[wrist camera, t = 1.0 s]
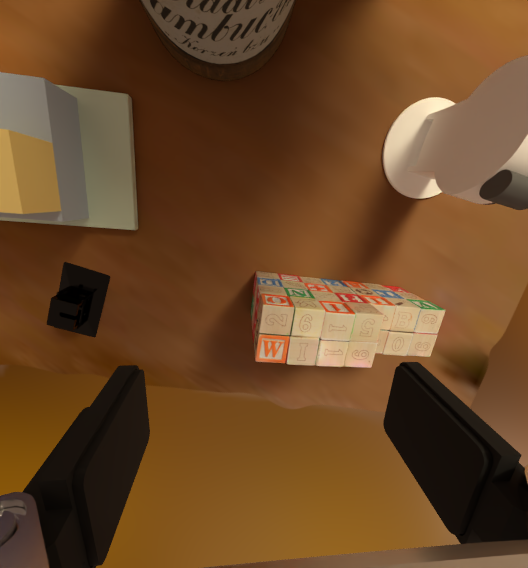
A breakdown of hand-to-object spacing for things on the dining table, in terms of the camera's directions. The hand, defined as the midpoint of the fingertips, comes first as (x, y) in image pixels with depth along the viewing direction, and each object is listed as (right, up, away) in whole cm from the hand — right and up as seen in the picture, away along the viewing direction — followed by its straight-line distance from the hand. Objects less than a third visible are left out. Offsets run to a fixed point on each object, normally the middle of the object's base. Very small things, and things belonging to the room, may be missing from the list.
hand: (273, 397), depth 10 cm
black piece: (-24, +2, +26) cm, 36 cm away
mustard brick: (-23, +14, +15) cm, 31 cm away
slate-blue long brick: (-23, +18, +19) cm, 35 cm away
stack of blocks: (+8, +2, +29) cm, 30 cm away
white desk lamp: (+20, +21, +24) cm, 37 cm away
